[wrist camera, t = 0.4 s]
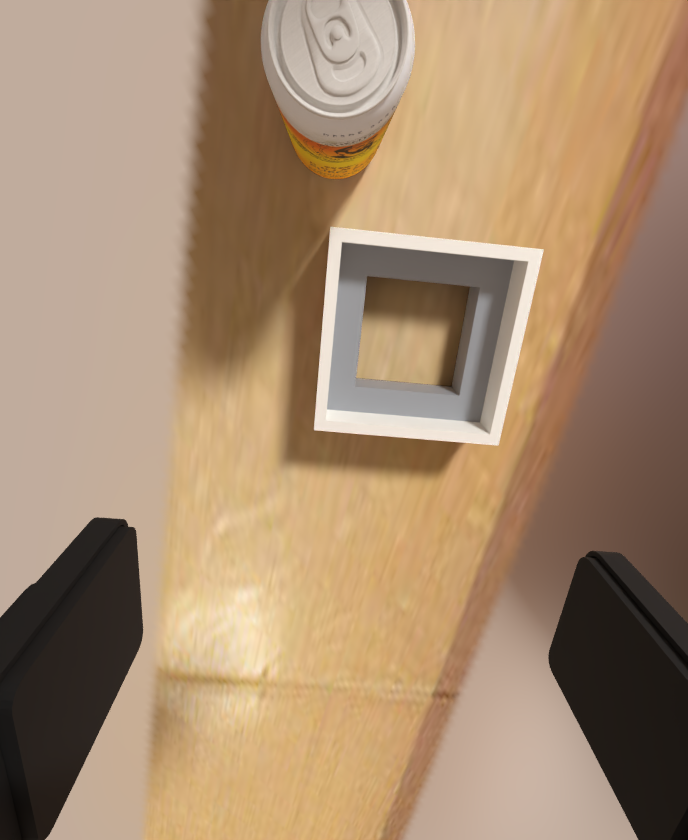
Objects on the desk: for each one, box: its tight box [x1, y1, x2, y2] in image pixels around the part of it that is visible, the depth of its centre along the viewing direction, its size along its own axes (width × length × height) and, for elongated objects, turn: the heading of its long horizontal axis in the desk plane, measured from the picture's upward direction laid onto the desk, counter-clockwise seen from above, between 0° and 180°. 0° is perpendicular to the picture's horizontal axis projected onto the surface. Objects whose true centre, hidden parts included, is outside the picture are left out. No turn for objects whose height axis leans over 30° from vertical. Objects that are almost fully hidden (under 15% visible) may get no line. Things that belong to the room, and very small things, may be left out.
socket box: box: [314, 227, 544, 445], centre depth 34 cm, size 14×14×5 cm
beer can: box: [261, 0, 415, 179], centre depth 24 cm, size 6×6×15 cm
